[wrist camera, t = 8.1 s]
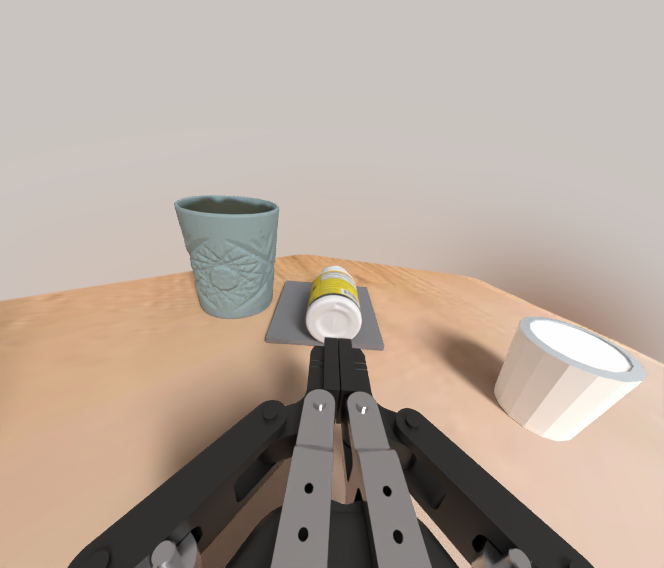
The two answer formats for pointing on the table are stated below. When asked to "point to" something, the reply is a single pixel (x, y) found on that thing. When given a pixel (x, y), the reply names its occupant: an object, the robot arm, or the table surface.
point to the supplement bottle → (333, 305)
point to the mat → (292, 319)
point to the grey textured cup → (230, 252)
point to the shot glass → (562, 377)
